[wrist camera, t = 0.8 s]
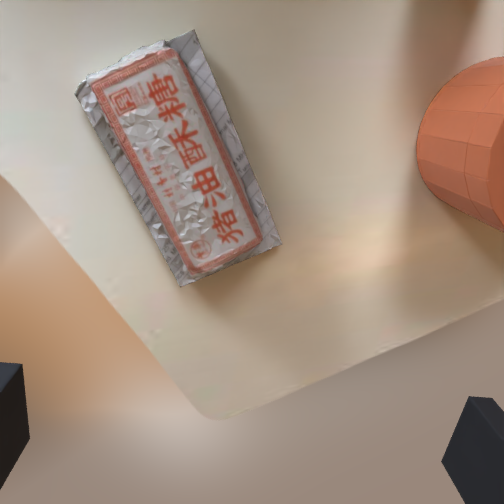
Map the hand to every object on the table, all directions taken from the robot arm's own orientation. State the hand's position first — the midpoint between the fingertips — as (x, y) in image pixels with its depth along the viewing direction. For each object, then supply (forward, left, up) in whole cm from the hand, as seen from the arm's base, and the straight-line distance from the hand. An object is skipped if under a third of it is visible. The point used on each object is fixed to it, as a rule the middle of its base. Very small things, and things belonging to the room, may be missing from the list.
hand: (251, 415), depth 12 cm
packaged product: (-2, -5, -24) cm, 25 cm away
